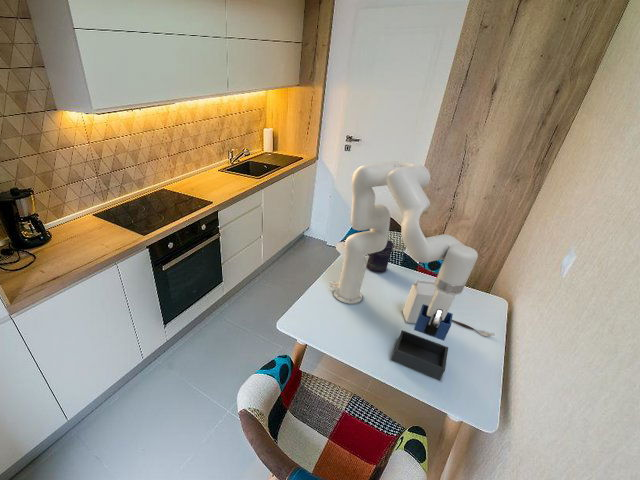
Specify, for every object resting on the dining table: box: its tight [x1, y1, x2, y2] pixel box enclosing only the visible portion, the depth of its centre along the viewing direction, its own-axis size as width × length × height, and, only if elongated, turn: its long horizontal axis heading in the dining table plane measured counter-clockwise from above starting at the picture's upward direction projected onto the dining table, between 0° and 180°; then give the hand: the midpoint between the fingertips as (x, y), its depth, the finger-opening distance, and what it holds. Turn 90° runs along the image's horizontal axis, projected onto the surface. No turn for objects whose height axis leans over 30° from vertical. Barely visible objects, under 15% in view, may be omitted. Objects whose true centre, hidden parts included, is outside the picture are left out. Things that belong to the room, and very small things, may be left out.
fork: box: [452, 319, 494, 337], centre depth 128 cm, size 3×16×2 cm, turn 49°
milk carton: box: [402, 279, 436, 325], centre depth 129 cm, size 7×7×19 cm
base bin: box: [390, 330, 449, 381], centre depth 114 cm, size 16×12×5 cm
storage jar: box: [366, 239, 394, 274], centre depth 163 cm, size 10×10×15 cm
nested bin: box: [413, 304, 454, 342], centre depth 106 cm, size 9×7×6 cm
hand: (430, 326), depth 107 cm, fingers closed on nested bin, 7 cm apart
